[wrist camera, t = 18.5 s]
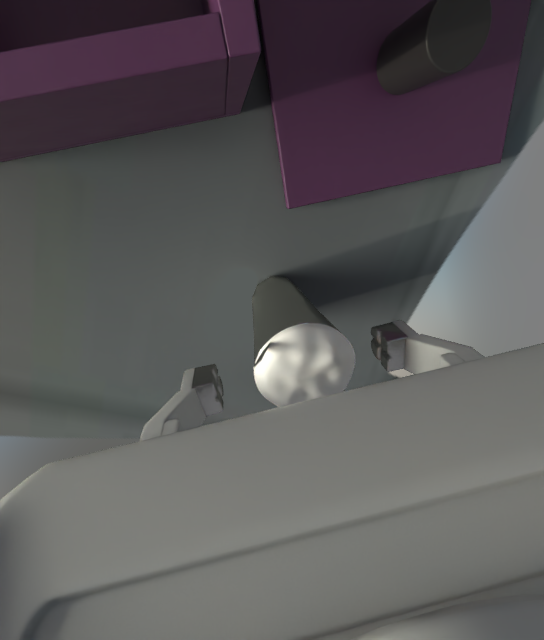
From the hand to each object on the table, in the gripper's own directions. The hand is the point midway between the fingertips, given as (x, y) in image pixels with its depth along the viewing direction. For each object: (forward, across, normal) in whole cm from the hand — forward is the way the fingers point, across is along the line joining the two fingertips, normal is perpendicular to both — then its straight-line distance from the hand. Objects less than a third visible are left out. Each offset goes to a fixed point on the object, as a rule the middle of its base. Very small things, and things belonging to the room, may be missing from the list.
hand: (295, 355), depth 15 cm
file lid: (+6, -8, -12) cm, 16 cm away
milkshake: (+6, 0, -1) cm, 6 cm away
